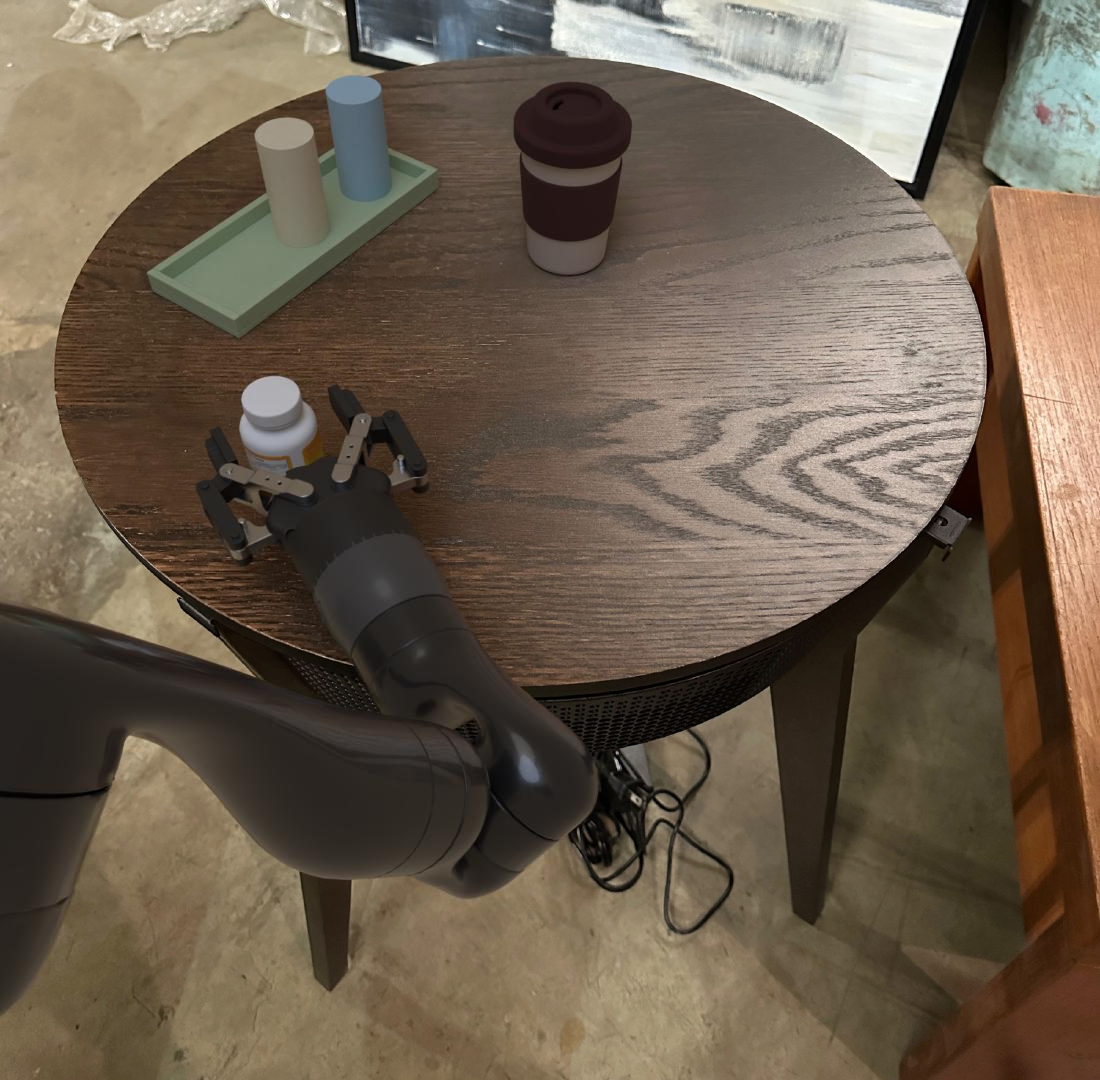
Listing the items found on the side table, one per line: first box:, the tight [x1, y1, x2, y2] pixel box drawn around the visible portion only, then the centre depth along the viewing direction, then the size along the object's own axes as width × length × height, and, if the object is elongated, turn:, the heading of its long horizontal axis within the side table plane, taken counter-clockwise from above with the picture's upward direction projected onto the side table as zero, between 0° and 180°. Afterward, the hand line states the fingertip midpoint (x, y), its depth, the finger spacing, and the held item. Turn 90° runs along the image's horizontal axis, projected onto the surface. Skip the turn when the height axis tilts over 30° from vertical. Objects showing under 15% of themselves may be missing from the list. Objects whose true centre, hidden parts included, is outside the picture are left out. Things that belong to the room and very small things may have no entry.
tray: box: [146, 147, 440, 339], centre depth 96 cm, size 28×11×2 cm, turn 146°
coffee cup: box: [513, 81, 633, 276], centre depth 90 cm, size 10×10×15 cm
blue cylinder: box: [325, 74, 392, 202], centre depth 97 cm, size 5×5×10 cm
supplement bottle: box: [238, 375, 325, 496], centre depth 74 cm, size 5×5×10 cm
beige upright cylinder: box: [254, 117, 330, 248], centre depth 92 cm, size 5×5×10 cm
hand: (275, 414), depth 72 cm, fingers open, 8 cm apart
